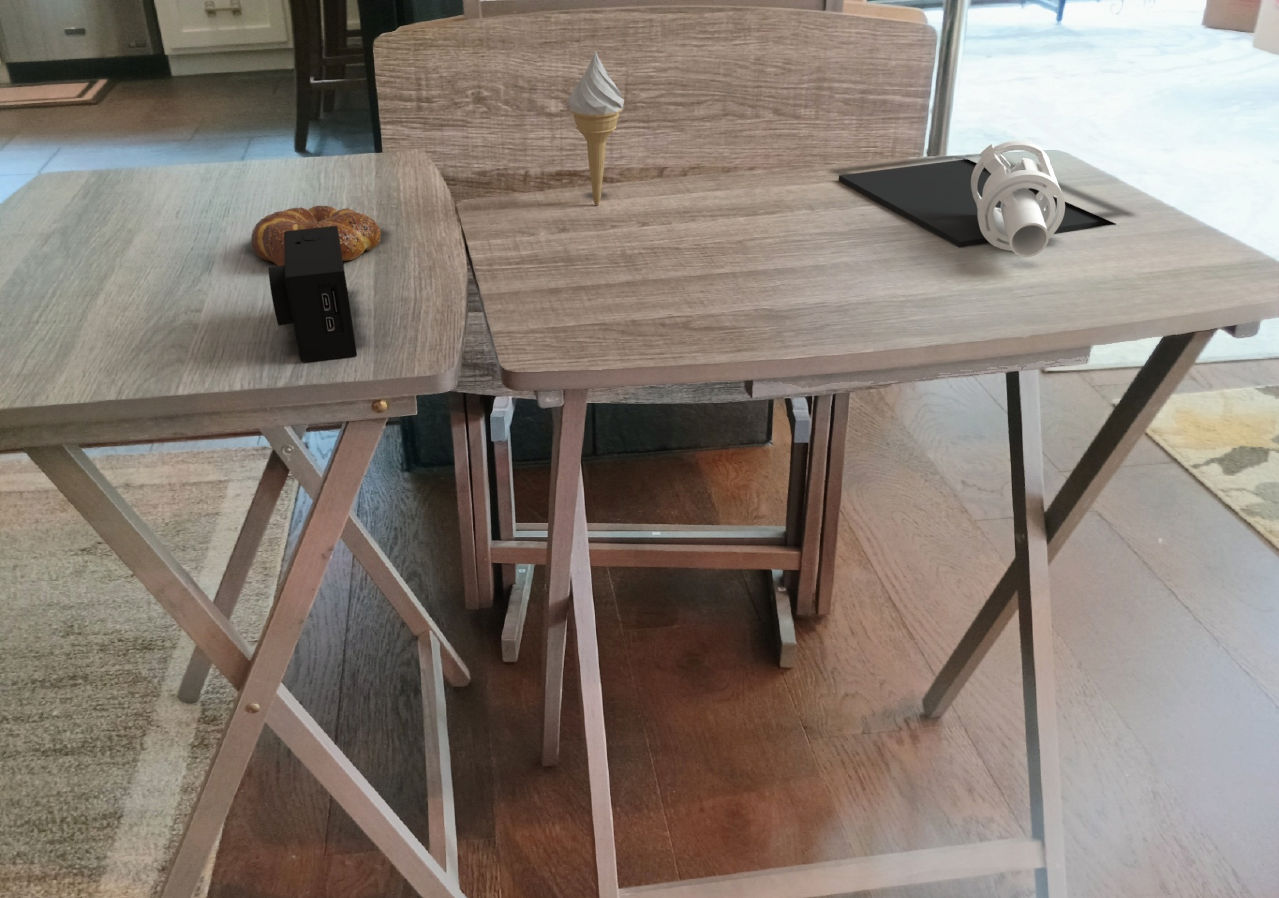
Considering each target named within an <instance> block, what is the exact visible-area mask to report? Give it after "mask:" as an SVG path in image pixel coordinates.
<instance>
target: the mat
mask: <svg viewBox="0 0 1279 898" xmlns="http://www.w3.org/2000/svg"><path fill="white" fill-rule="evenodd" d="M977 163H978V162H976V161H973V160H971V159H968V158H965V159H964V158H963V159H957V160H949V161H940V162H933V163H925V164H924V163H923V164H918V165H909V166H901V167H893V168H885V169H878V170H870V171H862V172H855V173H853V172H852V173H846V174H839V175H838V180H837V181H838V182H840V183H842V184H844V185H845V186H847V187H849V188H851V189H853V190H855V191H857V192H858V193H859V194H862V195H864V196H866V197H867V198H869V199H870V200H872V201H874V202H876V203H878V204H879V205H882V206H883V207H885V208H887V209H889V210H891V211H892V212H894V213H896V214H898V215H900V216H901V217H903V218H905V219H907V220H909V221H911V222H912V223H914V224H916V225H918V226H920V227H921V228H923V229H925V230H927V231H928V232H930V233H932V234H934V235H936V236H938V237H940V238H941V239H943V240H944V241H947V242H948V243H950V244H952V245H954V246H956V247H958V248H965V247H966V248H967V247H973V246H980V245H986V244H991V243H990V242H988V241H987V240H986V238H985V237H984V236H983V234H982V232H981V230H980V227H979V222H978V215H977V213H978V209H977V204H976V202H975V200H974V198H973V194H972V190H971V177H972V173H973V170H974V168H975V166H976V164H977ZM990 175H991V173H990V172H989V171H988V170H987V169H986V168H985V167H984V169H983V170H982V172H981V174H980V176H979V179H978V184H977V191H978V193H979V195H980V197H981V198H982V193H983V188H984V185H985V183H986V181H987V179H988V178H989V176H990ZM1028 190H1030V191H1032V192H1033V193H1034V194H1035V196H1036V195H1037V193H1038V192H1039V190H1036V189H1033V188H1029V189H1028ZM1053 198H1054V201H1055V206H1056V209H1057V197H1056V196H1055V195H1054V196H1053ZM1047 206H1048V205H1047ZM995 207H996V208H1000V207H1001V201H1000V200H999V201H998V203H997V204H996V206H995ZM1046 209H1047V207H1046ZM1046 209H1045V210H1046ZM1055 212H1056V210H1055ZM1114 225H1117V223H1115V222H1113V221H1111V220H1109V219H1106V218H1104V217H1102V216H1100V215H1097V214H1095V213H1093V212H1090V211H1088V210H1085V209H1083V208H1081V207H1079V206H1077V205H1074V204H1072V203H1069V202H1068V201H1065V213H1064V217H1063V219H1062V222H1061V224H1060V226H1059V227H1058V229H1057V230H1056V231H1055V232H1054V234H1059V233H1065V232H1073V231H1079V230H1087V229H1092V228H1099V227H1106V226H1114Z"/></svg>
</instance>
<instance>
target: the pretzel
mask: <svg viewBox="0 0 1279 898" xmlns="http://www.w3.org/2000/svg"><path fill="white" fill-rule="evenodd" d="M330 226H337V227H338V233H339V239H340V246H341V252H342V259H343V262H345V261H352V260H355V259H357V258H360V257H361V255H362V254H364V253H365V251H372V250H373V249H374V248H376V247H377V246H378V245H379V244H380V242H381V238H382V236H381V229H380V227H379V225H378V224H377V222H376V221H375V220H374V219H373V218H371V217H370V216H368V215H367V214H364V213H360V212H358V211H355V210H353V209H351V208H348V207H346V208H342V209H339V210H338V209H337V208H335V207H332V206H329V205H316V206H314V205H313V206H312V207H310V208H309V209H308V208H305V207H293V208H291V207H290V208H288V209H285V210H279V211H275V212H273V213H271V214H268V215H266V216H264V217H263V218H261V219H260V220H259V221H258V222H257V223H256V224H255V226H254V227H253V229H252V233H251V239H250V241H251V247H252V249H253V251H254V253H255V254H256V255H257V256H258V257H259V258H261V259H263V260H265V261H268V262H272V263H274V264H275V266H282V265H285V259H284V232H285V231H291V230H301V229H311V228H321V227H330Z"/></svg>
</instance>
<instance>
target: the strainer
mask: <svg viewBox="0 0 1279 898" xmlns="http://www.w3.org/2000/svg"><path fill="white" fill-rule="evenodd" d="M1013 151H1023V152H1029V153H1031V154H1033V155H1035V156H1036V157H1037V160H1038V162H1036V161H1035V160H1034V159H1031V158H1027V157H1022V160H1021V161H1019V162H1017V163H1016V164H1014V166H1012V165H1011V163H1010V162H1009V161H1008V159H1006V157H1005V156H1003V155H1002V154H1004V153H1009V152H1013ZM980 155H981V157H980V159H979V160H978V161H977V162H976V163H977V164H976V166H975V168H974V170H973V173H972V177H971V190H972V194H973V198H974V200H975V202H976V204H977V209H978V213H977V215H978V222H979V227H980V230H981V232H982V234H983V236H984V237H985V238H986V240H987V241H988V242H990V243H989V244H991V245H992V246H993V247H996V248H998V249H1001V250H1004V251H1010V252H1012V253H1013V254H1014V255H1016V256H1018V257H1021V258H1030V257H1034V256H1036V255H1039V254H1040V253H1042V252H1043V251H1044V250H1045V249H1046V247H1047V246H1048V243H1049V242H1050V241H1049V240H1050V238H1051V237H1052V236H1053V235H1054V234H1055V233H1054V232H1055V231H1056V230H1057V229H1058V227H1059V226H1060V224H1061V222H1062V219H1063V217H1064V213H1065V202H1066V200H1065V197H1064V194H1063V191H1062V189H1061V186H1060V185H1059V182H1058V179H1057V177H1056V174H1055V173H1054V169H1053V166H1052V163H1051V160H1050V158H1049V156H1048V154H1047V153H1046V152H1045V150H1044V149H1043V148H1042V147H1040V146H1039V145H1037V144H1035V143H1034V142H1030V141H1026V140H1010V141H1006V142H1002V143H1000V144H997V145H995V146H994V145H993V144H990V145H988V146H986V148H984V149H983V150H982V151H981V152H980ZM1011 166H1012V168H1011ZM984 167H985V168H986V169H987V170H988V171H989V172H990V173H991V175H990V176H989V178H988V179H987V181H986V183H985V185H984V188H983V193H982V198H981V197H980V195H979V193H978V191H977V184H978V179H979V176H980V174H981V172H982V170H983V169H984ZM1010 168H1011V169H1010ZM1029 188H1033V189H1036V190H1039V192H1038V193H1037V195H1036V196H1035V194H1034V193H1033V192H1032V191H1030V190H1028V189H1029ZM1053 196H1054V197H1056V198H1057V209H1056V206H1055V201H1054V198H1053ZM999 200H1000V201H1001V207H1000V208H996V207H995V206H996V204H997V203H998V201H999ZM1047 205H1048V206H1047ZM1046 207H1047V209H1046ZM1045 209H1046V210H1045ZM1055 210H1056V212H1055Z"/></svg>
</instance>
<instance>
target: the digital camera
mask: <svg viewBox="0 0 1279 898" xmlns="http://www.w3.org/2000/svg"><path fill="white" fill-rule="evenodd" d="M284 259H285V265H282V266H278V265H273V266H268V280H269V288H270V295H271V298H272V299H271V300H272V305H273V310H274V315H275V319H276V322H277V325H278V326H279V327H280V326H287V325H293V328H294V332H295V339H296V345H297V350H298V355H299V360H300V362H301V363H309V362H317V361H325V360H334V359H341V358H342V359H343V358H351V357H357V356H358V351H357V346H356V345H357V344H356V339H355V332H354V331H355V330H354V324H353V317H352V311H351V303H350V298H349V292H348V284H347V281H346V280H347V278H346V273H345V272H346V271H345V265H344V261H343V259H342V252H341V246H340V239H339V233H338V227H337V226H330V227H321V228H311V229H301V230H291V231H285V232H284Z"/></svg>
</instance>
